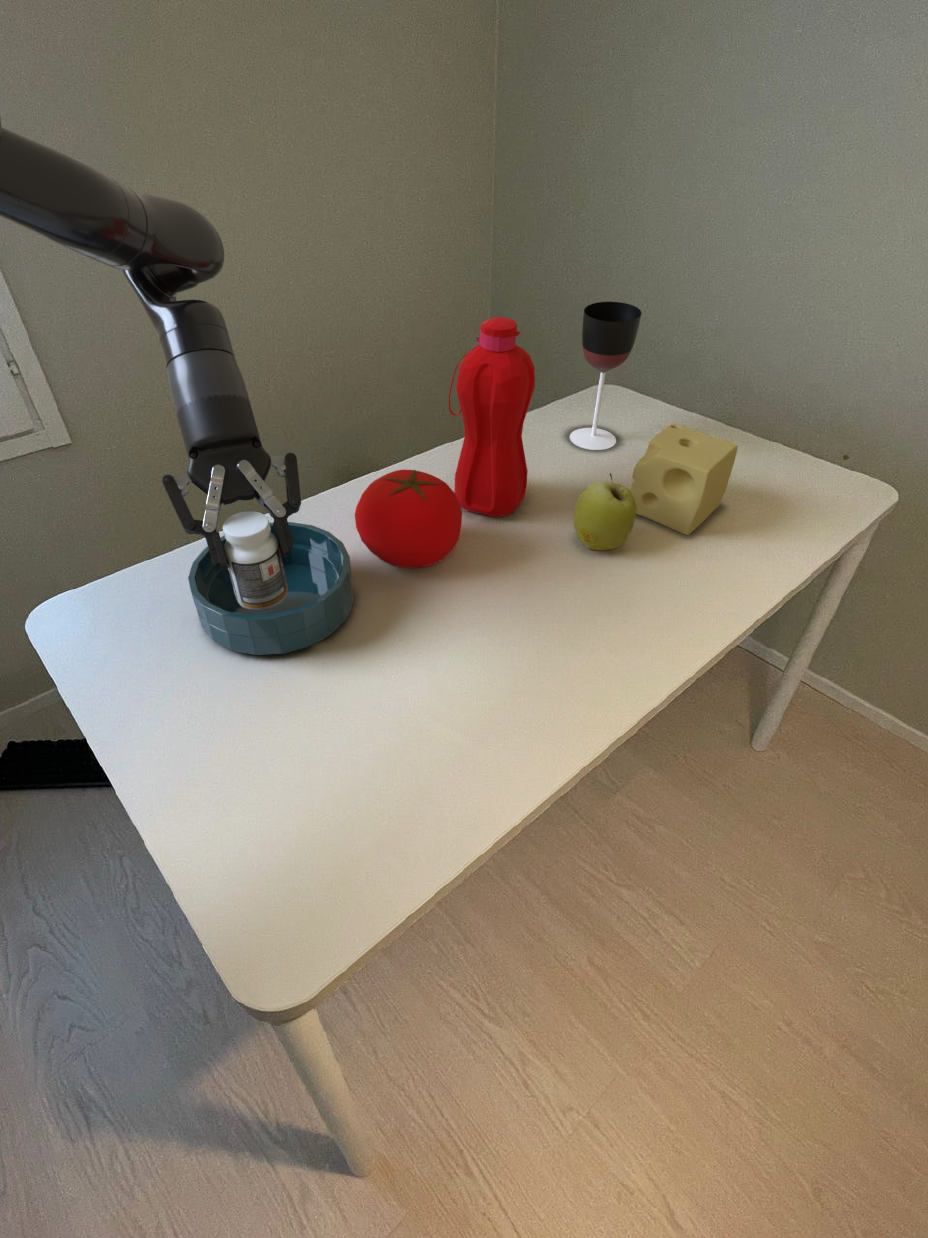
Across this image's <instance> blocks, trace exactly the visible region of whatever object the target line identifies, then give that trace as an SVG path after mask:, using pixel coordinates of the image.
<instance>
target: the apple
mask: <svg viewBox="0 0 928 1238" xmlns="http://www.w3.org/2000/svg"><path fill="white" fill-rule="evenodd" d="M609 476H610V479H611V481H598V482H595V483H591V484H590V485H588V486H587V487H586V488H585V489H584V490H583V491H582V492H581V494H579V497H578V499H577V501H576V503H575V506H574V511H573V512H574V513H573V527H574V531H575V534H576V536H577V538H578V539H579V541H580V542H581V543H582V544H583V545H584V547H586V548H587V549H589V550H592V551H607V550H615V549H617V548H619V547H620V546H621V545H622V544H623V543H624V542H625V541H626V540H627V538H628V537H629V535H630V533H631V532H632V530H633V527H634V523H635V520H636V516H637V514H636V503H635V500H634V497H633V495H632V493H631V492H630V491H629V490H628V489H629V488H627V487H626V486H625V485H622V484H620V483H616V482H613V477H612V476H613V475H612V473H609Z"/></svg>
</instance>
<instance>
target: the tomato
mask: <svg viewBox="0 0 928 1238" xmlns="http://www.w3.org/2000/svg"><path fill="white" fill-rule="evenodd" d="M462 520H463V511H462V508H461V506H460V503H459V501H458V499H457V497H456V495H455V491H454V490H453V489H452V487H450V486H449V485H448V484H447V482H446V481H444V480H442V479H441V478H439V477H437V476H435V475H433V474H430V473H427V472H424V471H420V470H416V469H397V470H393V471H391V472H388V473H386V474H383V475H382V476H380V477H378V478H376V479H375V480H373V481H372V482H370V484H369V485H368V486H367V487H366V489H365V490H364V491H363V492H362V494H361V496H360V498H359V500H358V502H357V504H356V506H355V512H354V522H355V528H356V530H357V533H358V535H359V539H360V540H361V542H362V543H363V544H364V546H365V547H366V548H367V549H368V550H369V552H370V553H372V554H373V555H374V556H375V557H377V558H378V559H379V560H381V561H382V562H383V563H386V564H388V565H391V566H394V567H399V568H406V569H407V568H408V569H418V568H419V569H421V568H425V567H426V568H427V567H429V566H432V565H435V564H438V563H439V562H441V561H443V560H444V559H445V558H447V556H448V555H450V554H451V553H452V552H453V551H454V549H455V548H456V546H457V544H458V542H459V540H460V535H461V530H462V526H463V525H462V522H463V521H462Z"/></svg>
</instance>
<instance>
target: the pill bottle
mask: <svg viewBox="0 0 928 1238" xmlns="http://www.w3.org/2000/svg"><path fill="white" fill-rule="evenodd" d="M270 523H271V522H270V519H269V518H268V516H267V515H265V514H264V513H263V512H260V511H252V510H249V511H241V512H237V513H233V514H232V515H230V516H229V517H227V518H226V519H225V520H224V521H223V523H222V531H223V536H224V537H225V539H226V540H227V541H226V543H225V545H224V552H225V556H226V560H227V563H228V567H229V569H228V570H229V573H230V577H231V581H232V585H233V589H234V592H235V596H236V599H237V601H238V603H239V604H240V605H241V606H242V607H243V608H245V609H248V610H252V611H265V610H269V609H272V608H274V607H276V606H278V605H280V604H281V603H282V602H283V601H284V600H285V598H286V597H287V593H288V588H287V583H286V577H285V572H284V568H283V564H282V559H281V554H280V549H279V544H278V540H277V538H276V537H275V535H274V534H273V533H271V532H270V531H271V527H270Z"/></svg>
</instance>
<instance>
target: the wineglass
mask: <svg viewBox="0 0 928 1238" xmlns="http://www.w3.org/2000/svg"><path fill="white" fill-rule="evenodd" d="M641 319H642V311H641V309H640V308H638V306H635V305H633V304H630V303H626V302H620V301H598V302H594V303H591V304H588V305H587V306H585V307H584V309H583V317H582V330H581V331H582V332H581V342H582V343H581V344H582V345H581V346H582V352H583V356H584V358H585V360H586V363H588V364H589V365H590V366H591V367H593V368H594V369H596V370H598V371H600V375H599V379H598V380H599V381H598V387H597V392H596V393H597V394H596V400H595V406H594V407H595V408H594V414H593V421H592V427H582V428H577V429H575V430H573V431H572V432H571V433H570V434H569V440H570V442H571V443H573V445H575V446H577V447H579V448H581V449H585V450H589V451H590V450H591V451H603V450H608V449H610V448H612V447H614V446H615V445H616V444H617V439H616V436H615V435H614V434H612V433H611V432H609V431H607V430H605V429H601V428H598V424H599V419H600V410H601V405H602V398H603V392H604V387H605V381H606V374H607V372H608V371H611V370H613V369H616V368H618V367H619V366H621V365H622V364H623V363H625V362H626V361H627V359H628V358H629V356H630V354H631V353H632V350H633V349H634V345H635V341H636V338H637V335H638V331H639V327H640V322H641Z"/></svg>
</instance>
